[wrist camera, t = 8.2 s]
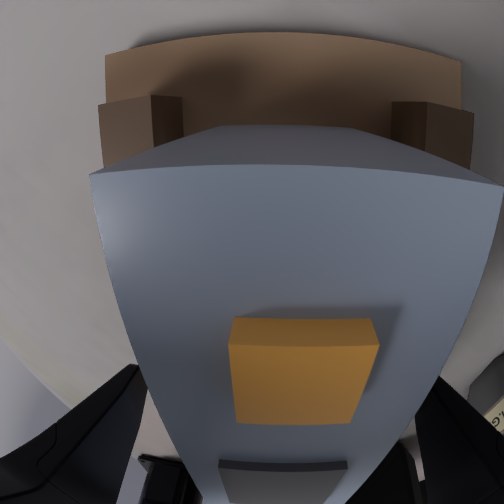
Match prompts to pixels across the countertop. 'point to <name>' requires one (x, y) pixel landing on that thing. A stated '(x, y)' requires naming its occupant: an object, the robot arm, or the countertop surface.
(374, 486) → the electronic device
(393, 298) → the power strip
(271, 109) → the dock
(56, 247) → the countertop surface
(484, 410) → the liquor
